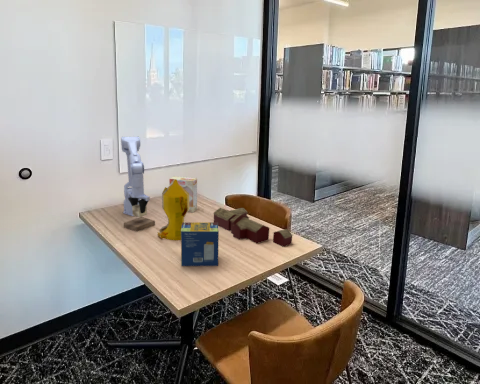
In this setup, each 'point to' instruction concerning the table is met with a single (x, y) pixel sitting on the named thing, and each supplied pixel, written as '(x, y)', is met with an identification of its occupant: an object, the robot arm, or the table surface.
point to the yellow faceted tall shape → (174, 210)
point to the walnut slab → (139, 224)
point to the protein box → (199, 244)
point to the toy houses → (249, 227)
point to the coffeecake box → (188, 190)
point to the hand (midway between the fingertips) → (139, 211)
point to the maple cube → (138, 211)
